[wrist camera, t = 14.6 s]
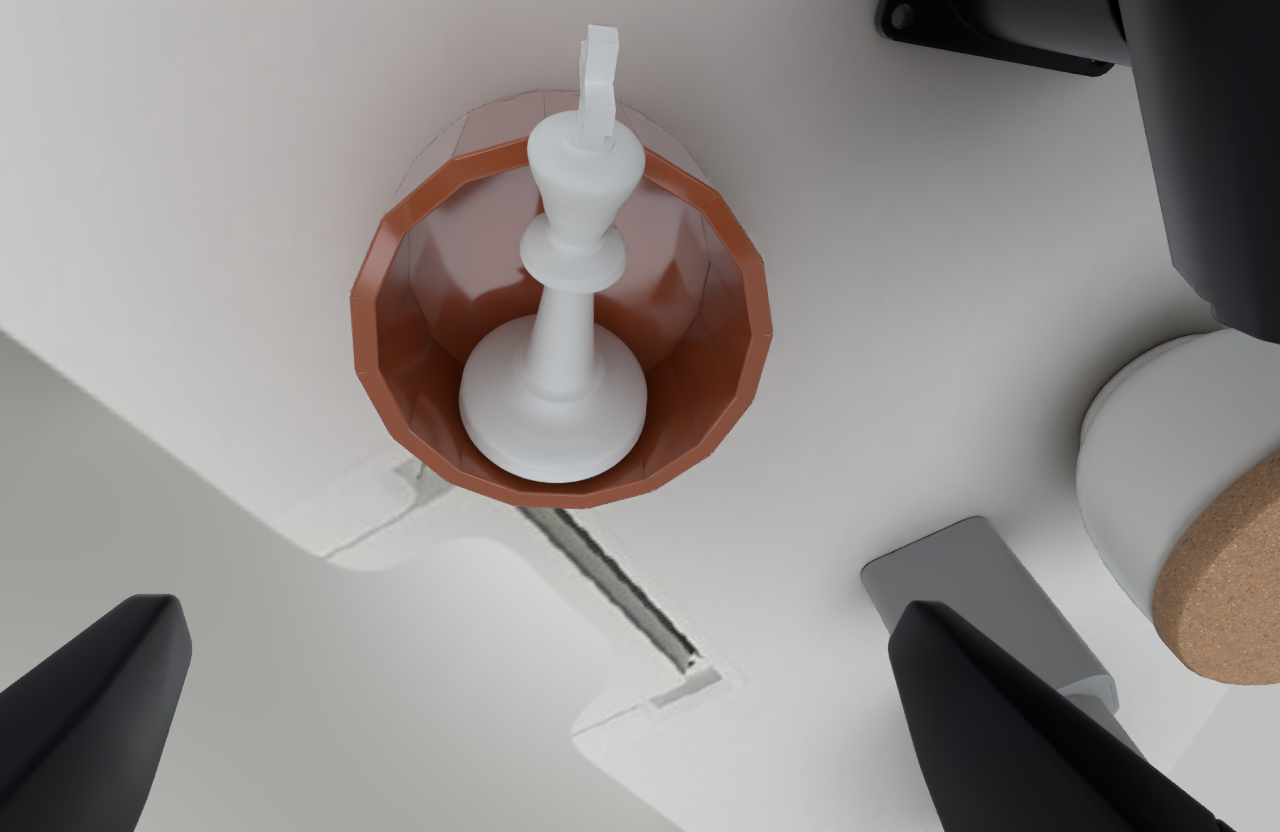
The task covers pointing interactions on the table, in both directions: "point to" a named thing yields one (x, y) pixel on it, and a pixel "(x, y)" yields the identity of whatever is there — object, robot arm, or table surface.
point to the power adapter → (997, 610)
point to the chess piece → (566, 301)
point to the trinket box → (1193, 498)
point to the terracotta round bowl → (504, 290)
